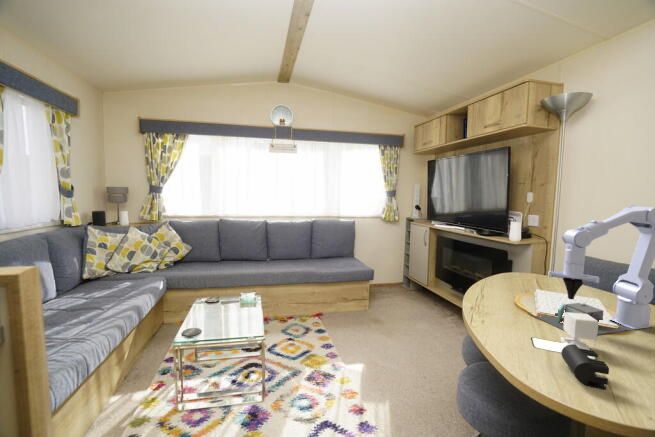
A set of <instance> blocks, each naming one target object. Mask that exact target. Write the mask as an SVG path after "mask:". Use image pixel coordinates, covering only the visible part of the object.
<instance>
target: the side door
mask: <svg viewBox="0 0 655 437" xmlns="http://www.w3.org/2000/svg"><path fill="white" fill-rule="evenodd" d="M557 310H558V313H555V316H558V318H557V322H560V320H561V319H562V315H563V313H564V310H565V303H562V304H561V305H560V307H559V308H558V309H557Z"/></svg>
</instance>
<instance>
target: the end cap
mask: <svg viewBox="0 0 655 437" xmlns="http://www.w3.org/2000/svg"><path fill="white" fill-rule="evenodd" d="M560 354H561V357H562V359H563V360H564V362H565V364H566V365H567V367H568V369H570V371H571V373H572V374H573V376H574V378H576V380H577V381H578V382H580V384H582V386H585V387H588V388H593V389H598V390H603V391H606V390H607V385H608V382H609V379H608V377H607V378H606V377H602V376H598V375H597V374H596V373H598V374H604V375H610V374H609V373H610V368H609V366H608V364H606V362H604V361H603V360H598V359H597V360H594V359H591V358H589V357H588V356H592V357H593V356H594V357H596V358H599V355H598V353H597V352H596V351H595V350H593V349H591V350H586V349H579V348H578V347H577V346H576V345H575V344H570V345H567V346H565V347H564V348H563V349H562V352H561V353H560Z"/></svg>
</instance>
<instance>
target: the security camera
mask: <svg viewBox="0 0 655 437" xmlns="http://www.w3.org/2000/svg"><path fill="white" fill-rule="evenodd" d="M563 329H564V332H565V333H566V334H568V335H569V336H570V337H567V336H565V337H563V336H560V343H563V344H565V345H566V346H567V345H570V344H575V345H576V346H577V347H578V348H579V349H586V350H589V348H590V346H588V345H587V344H586V343H585V342H584V341H582V340H581V339H584V340H585V339H586V340H593V341H596V340H598V335H597V332H598V321H597V320H596V319H594V318H593V317H591V316H589V315H588V314H582V313H569V312H565V316H564V326H563Z"/></svg>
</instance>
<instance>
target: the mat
mask: <svg viewBox="0 0 655 437" xmlns="http://www.w3.org/2000/svg"><path fill="white" fill-rule="evenodd" d="M530 313H531V312H527V314H528V315H530V316H532V317H535V319H537V320H541V321H543V322H545V323H547V324H549V325H551V326H553V327H555V328H557V329H559V330H562V331H564V329H563V326H564V324H563V323H560V322H562V321H563V322H564V319H561V320H560V322H557V317H551V316H549V317H547V316H541V317H540V316H534V315H532V314H530ZM619 325H620V324H619ZM625 330H630V331H632V329H631V328H628V327H626V326H623V325H620V326H619V327H618V328H617V329H610V328H607V327H602V326H598V332H597V336H600V335H607V334H613V333H612V332H616V333H620V332H619V331H623V332H626V331H625ZM564 332H565V331H564Z"/></svg>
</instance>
